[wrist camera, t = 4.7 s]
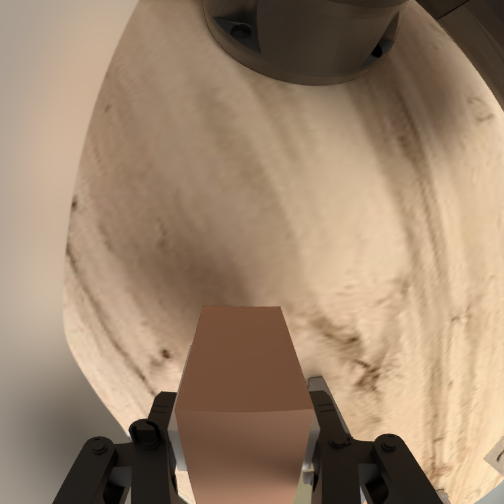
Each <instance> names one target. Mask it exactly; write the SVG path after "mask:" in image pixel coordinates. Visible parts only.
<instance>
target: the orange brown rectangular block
mask: <svg viewBox="0 0 504 504" xmlns="http://www.w3.org/2000/svg"><path fill="white" fill-rule="evenodd" d="M174 410H175V416H176V421H177V426H178V431H179V436H180V441H181V445H182V450H183V454H184V458H185V463H186V467H187V471H188V475H189V479H190V483H191V487H192V490H193V494H194V498H195V501H196V504H293V502H294V498H295V494H296V490H297V487H298V483H299V478H300V474H301V470H302V466H303V461H304V457H305V452H306V448H307V443H308V438H309V433H310V428H311V423H312V418H313V413H314V406H313V403H312V400H311V397H310V394H309V391H308V388H307V385H306V382H305V379H304V376H303V373H302V370H301V367H300V364H299V361H298V358H297V355H296V352H295V349H294V346H293V343H292V340H291V337H290V334H289V331H288V328H287V325H286V322H285V319H284V316H283V313H282V310H281V307H212V306H203V309H202V312H201V316H200V319H199V322H198V326H197V329H196V333H195V336H194V340H193V343H192V347H191V350H190V354H189V357H188V361H187V365H186V368H185V372H184V375H183V379H182V383H181V386H180V390H179V394H178V398H177V401H176V405H175V409H174Z"/></svg>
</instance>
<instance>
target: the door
mask: <svg viewBox="0 0 504 504" xmlns="http://www.w3.org/2000/svg"><path fill="white" fill-rule="evenodd" d="M313 472H314V468H313V464H311V468H310V469H306V470H301V474H300V478H299V483H298V487H297V490H296V494H295V498H294V502H293V504H311V493H312V485H310V482H311V479H312V476H313Z"/></svg>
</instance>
